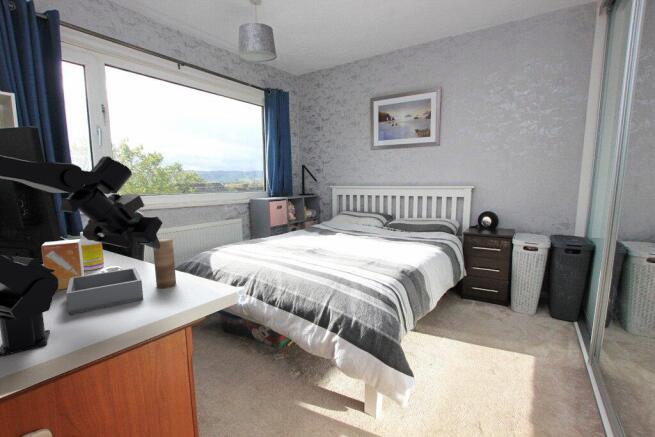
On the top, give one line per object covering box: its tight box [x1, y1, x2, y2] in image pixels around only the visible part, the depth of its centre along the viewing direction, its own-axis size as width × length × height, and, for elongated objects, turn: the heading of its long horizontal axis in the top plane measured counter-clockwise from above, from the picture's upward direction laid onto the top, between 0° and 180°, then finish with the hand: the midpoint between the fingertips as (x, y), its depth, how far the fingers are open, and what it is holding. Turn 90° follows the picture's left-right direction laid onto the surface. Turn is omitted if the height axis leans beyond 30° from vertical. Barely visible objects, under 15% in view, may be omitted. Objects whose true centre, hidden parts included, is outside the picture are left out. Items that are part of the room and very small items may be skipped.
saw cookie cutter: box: [100, 265, 123, 273], centre depth 103 cm, size 13×5×2 cm, turn 48°
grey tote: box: [65, 267, 144, 315], centre depth 81 cm, size 15×15×5 cm
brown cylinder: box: [152, 238, 177, 289], centre depth 89 cm, size 5×5×13 cm
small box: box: [40, 238, 85, 291], centre depth 90 cm, size 8×6×13 cm
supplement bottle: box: [79, 231, 105, 271], centre depth 109 cm, size 7×7×13 cm
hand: (144, 247), depth 82 cm, fingers open, 9 cm apart
